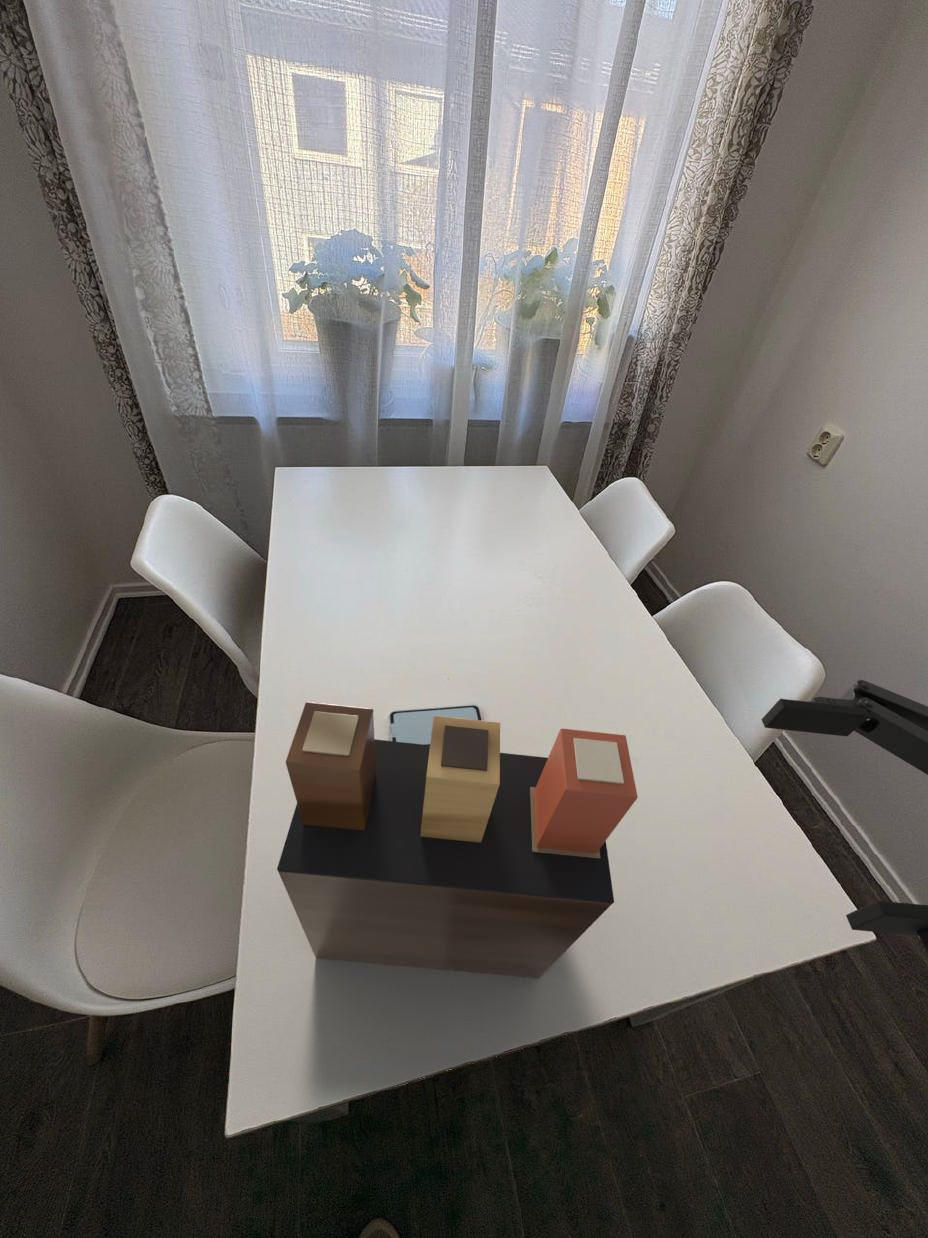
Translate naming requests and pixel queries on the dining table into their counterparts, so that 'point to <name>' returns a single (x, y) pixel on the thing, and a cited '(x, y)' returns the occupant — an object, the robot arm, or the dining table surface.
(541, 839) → the orange block
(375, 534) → the dining table surface
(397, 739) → the smartphone
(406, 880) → the black mat
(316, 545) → the dining table surface
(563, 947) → the stand
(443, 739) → the wooden pillar block
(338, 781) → the wooden block
